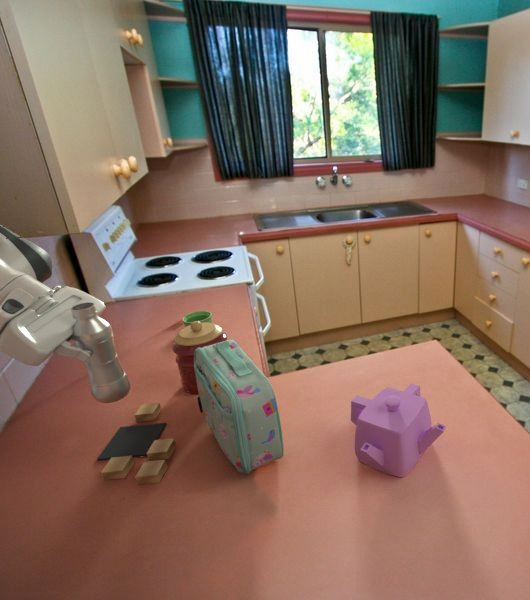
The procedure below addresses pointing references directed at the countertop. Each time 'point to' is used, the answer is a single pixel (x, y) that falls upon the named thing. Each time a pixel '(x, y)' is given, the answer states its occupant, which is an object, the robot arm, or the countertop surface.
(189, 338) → the kitchen canister
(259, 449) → the lunch box
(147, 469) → the front tile
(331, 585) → the countertop surface
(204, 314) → the ramekin
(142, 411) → the back tile
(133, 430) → the mat
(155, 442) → the tile
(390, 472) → the teakettle
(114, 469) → the tile
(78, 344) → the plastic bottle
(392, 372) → the countertop surface
